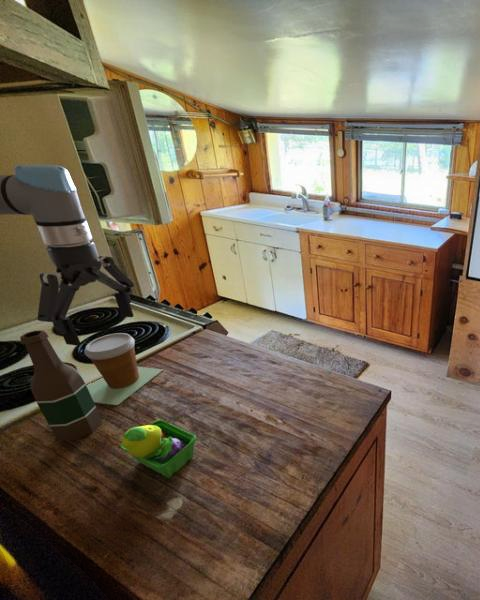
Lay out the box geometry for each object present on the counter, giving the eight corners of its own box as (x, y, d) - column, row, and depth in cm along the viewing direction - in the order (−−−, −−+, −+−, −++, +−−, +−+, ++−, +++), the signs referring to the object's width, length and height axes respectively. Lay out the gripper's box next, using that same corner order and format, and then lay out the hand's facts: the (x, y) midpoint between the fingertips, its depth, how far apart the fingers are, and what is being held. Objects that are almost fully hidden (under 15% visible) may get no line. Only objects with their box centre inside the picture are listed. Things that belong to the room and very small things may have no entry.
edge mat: (65, 398, 78) (64, 398, 78) (117, 364, 91) (117, 364, 91) (117, 405, 77) (117, 405, 77) (163, 370, 90) (163, 369, 90)
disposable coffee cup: (91, 395, 80) (72, 354, 75) (114, 371, 88) (98, 333, 83) (135, 391, 81) (119, 351, 76) (153, 368, 90) (140, 331, 85)
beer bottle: (112, 420, 73) (71, 327, 63) (72, 447, 66) (19, 348, 56) (86, 412, 75) (43, 320, 65) (45, 437, 68) (-11, 340, 58)
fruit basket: (203, 454, 66) (191, 412, 61) (160, 492, 59) (142, 448, 54) (165, 436, 70) (150, 395, 65) (119, 469, 62) (99, 426, 57)
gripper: (15, 262, 58) (61, 360, 67) (136, 231, 80) (158, 308, 89) (-21, 258, 58) (29, 356, 67) (108, 229, 81) (133, 305, 90)
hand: (102, 329), depth 78 cm, fingers open, 13 cm apart
